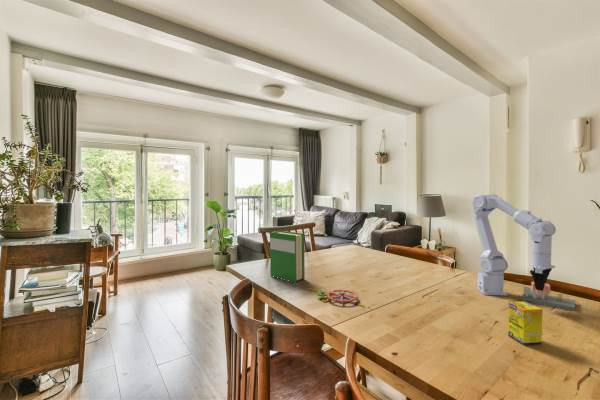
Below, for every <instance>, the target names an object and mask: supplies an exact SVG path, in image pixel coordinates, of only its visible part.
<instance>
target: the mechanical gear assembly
mask: <svg viewBox="0 0 600 400" xmlns="http://www.w3.org/2000/svg"><path fill="white" fill-rule="evenodd" d="M309 289H310V291H312V290H313V291H312V292H315V291H316V292H315V293H316V296H317V297H321V298H324V299H322V300H321V302H322V303H324V302H325V303H327V301H328V302H330V301H333V302H337V303H349V302H350V304H352V303H353V305H354V306H359V307H361V308H365V304H362V303H361V304H360V302H359V301H358V297H359V295H358V294H357V293H356V292H355V291H351V290H347V289H334V290H330V291H328V292H326V291H324V289H321V291H320V290H316V289H313V288H309V287H308V288H307V290H309ZM346 293H347V294H346ZM351 296H355V297H351ZM325 297H326V298H325ZM327 299H328V300H327ZM329 300H330V301H329Z"/></svg>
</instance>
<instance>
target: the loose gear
mask: <svg viewBox="0 0 600 400" xmlns="http://www.w3.org/2000/svg"><path fill="white" fill-rule="evenodd" d="M530 284H531V285H530V286H531V291H533V292H537V293H539V294H548V295H551V284H549V283H547V282H546V283H545V286H544V289H543V291H541V290H536V288H535V284H534V281H531V282H530Z"/></svg>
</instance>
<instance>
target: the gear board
mask: <svg viewBox="0 0 600 400" xmlns="http://www.w3.org/2000/svg"><path fill="white" fill-rule="evenodd" d="M521 301H522V302H528V303H533V304H538V305H542V306H547V307H551V308H552V307H553V308H557V309H561V310H564V311H569V312H570V311H571V312H575V310H576V301H577V300H576V299H571V298H567V297H563V293H562V292H556V295H552V294H539V293H537V292H533V291H531V285H527V286H524V287H523V294H522V296H521Z"/></svg>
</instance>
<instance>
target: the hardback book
mask: <svg viewBox="0 0 600 400" xmlns="http://www.w3.org/2000/svg"><path fill="white" fill-rule="evenodd" d="M269 249H270V251H269V255H270V257H269V258H270V260H269V263H270V265H269V266H270V268H269V269H270V270H269V271H270V272H269V273H270V277H271V276H274V277H278V278H282V279H285V280H289V281H292V282H291V283H293V282H296V283H297V281H300V280H302V279H305V276H306V275H305V273H306V272H305V233H301V232H294V231H293V232H292V231H285V230H275V231H270V232H269ZM274 277H273V278H274ZM278 278H277V279H278ZM282 279H281V280H282ZM285 280H284V281H285ZM289 281H288V282H289Z"/></svg>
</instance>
